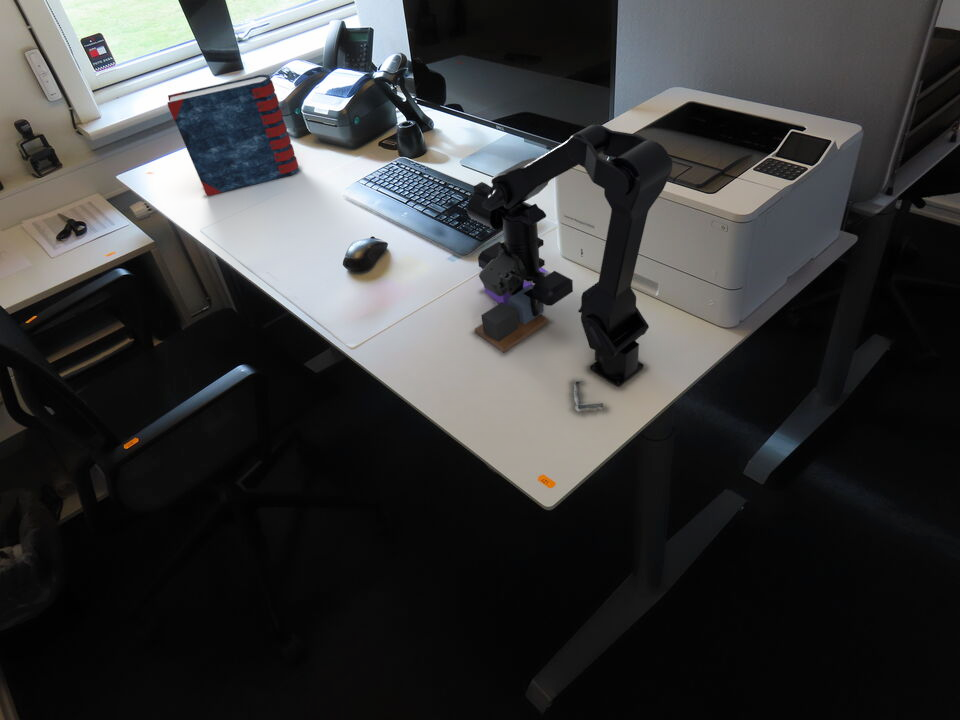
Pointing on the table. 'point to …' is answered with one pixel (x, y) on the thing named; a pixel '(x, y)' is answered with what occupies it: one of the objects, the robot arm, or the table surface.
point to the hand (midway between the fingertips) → (527, 309)
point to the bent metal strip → (585, 406)
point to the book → (234, 133)
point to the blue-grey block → (523, 306)
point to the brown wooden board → (514, 333)
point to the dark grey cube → (500, 321)
